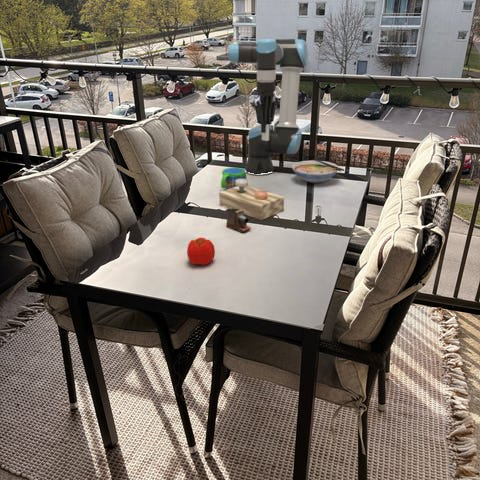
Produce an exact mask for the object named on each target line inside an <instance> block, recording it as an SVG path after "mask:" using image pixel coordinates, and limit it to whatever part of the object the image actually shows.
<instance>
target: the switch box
mask: <svg viewBox="0 0 480 480" xmlns="http://www.w3.org/2000/svg"><path fill="white" fill-rule="evenodd" d="M260 190H261V189H258V188H255V187H252V186H251V187H250V186H249V185H248V186H245V187H244V193H239V187H238V186H236V187H234V188H231V189H228V190H226V189H224V190H222V191H219V206H220V205H221V206H220V207H222V206H225V207H227V208H226V209H228V208H230V209H232V208H233V209H240V210H243V211H244V215H246V216H248V217H251V218H254V219H257V220H260V221H262V220H265V219H267V218H269V217H272V216H274V215H277V214H279V213H281V212H284V209H285V208H284V206H285V205H284V204H285V197H284V196H281V195H279V194H275V193H271V192H268V191H266V192H267V198H266V199H256V198H255V191H260ZM225 207H224V208H225Z"/></svg>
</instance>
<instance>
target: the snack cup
mask: <svg viewBox="0 0 480 480" xmlns="http://www.w3.org/2000/svg"><path fill="white" fill-rule="evenodd" d="M221 173H222V177H221V181H220V188H222V189H224V190H228V189H231V188H234V187H236V185H235V180H236V179H247V177H248V176H247V173H246V172H245V168H240V167H228V168H224V169H223V170H222V171H221ZM247 180H248V179H247Z"/></svg>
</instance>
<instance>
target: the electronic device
mask: <svg viewBox="0 0 480 480" xmlns="http://www.w3.org/2000/svg"><path fill="white" fill-rule="evenodd" d="M226 213H227V214H226V228H230V229H234V230H236V231H239V232H240V233H242V234H244V233H247V232H249V231H250V230H251V229H252V227H251V226H249V225H248V222H249V218H248V217H246V216H245V214H244V211H243V210H240V209H233V208H232V209H227V211H226Z"/></svg>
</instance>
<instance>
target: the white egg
mask: <svg viewBox="0 0 480 480" xmlns="http://www.w3.org/2000/svg"><path fill="white" fill-rule="evenodd" d="M248 182H249V181H248V179H236V180H235V185H236V186H238V187H239V193H244V187H245V186H248V187H249V185H248V184H249V183H248Z"/></svg>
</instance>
